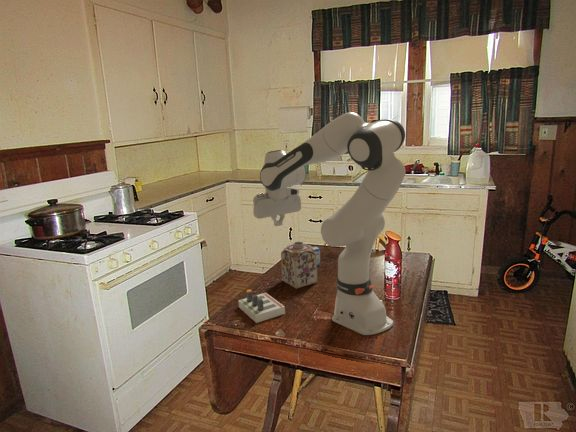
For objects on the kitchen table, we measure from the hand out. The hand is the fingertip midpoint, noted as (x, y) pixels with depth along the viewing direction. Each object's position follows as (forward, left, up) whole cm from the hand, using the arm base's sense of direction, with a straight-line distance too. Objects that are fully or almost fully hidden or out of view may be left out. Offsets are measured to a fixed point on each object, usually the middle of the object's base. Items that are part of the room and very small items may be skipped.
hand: (278, 225), depth 168 cm
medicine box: (+18, -27, -29) cm, 44 cm away
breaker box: (-10, +14, -29) cm, 34 cm away
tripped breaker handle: (-5, +17, -26) cm, 32 cm away
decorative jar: (+5, -12, -29) cm, 32 cm away
